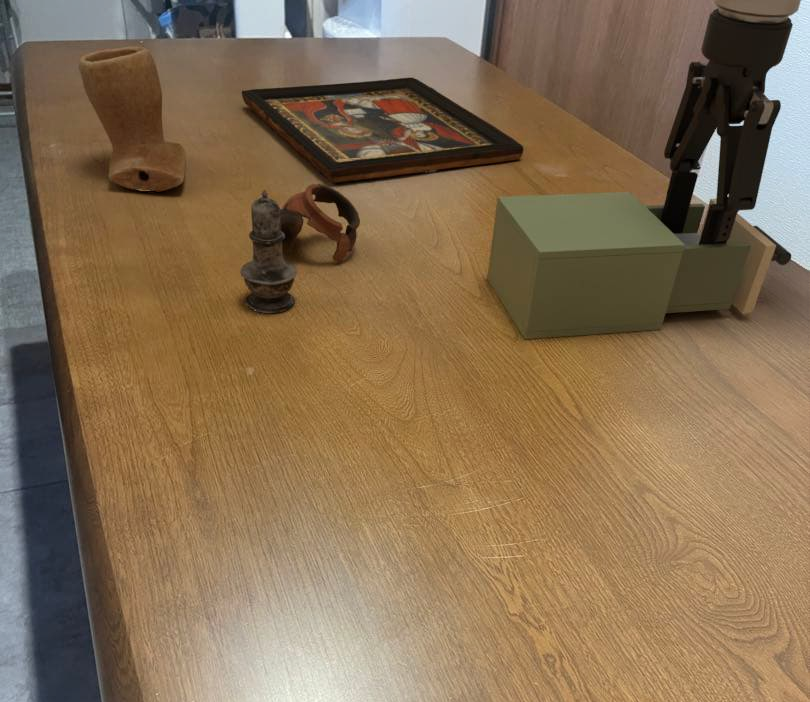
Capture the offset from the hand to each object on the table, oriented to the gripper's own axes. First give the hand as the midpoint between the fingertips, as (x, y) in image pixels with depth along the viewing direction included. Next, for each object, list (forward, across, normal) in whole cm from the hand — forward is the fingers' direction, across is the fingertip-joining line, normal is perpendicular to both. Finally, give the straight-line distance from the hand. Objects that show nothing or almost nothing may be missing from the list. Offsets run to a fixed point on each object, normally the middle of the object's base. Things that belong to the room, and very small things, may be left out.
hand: (687, 248), depth 96 cm
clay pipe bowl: (+5, -42, -58) cm, 72 cm away
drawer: (+5, 0, +1) cm, 5 cm away
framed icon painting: (+6, -56, -23) cm, 61 cm away
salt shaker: (+5, -4, -46) cm, 46 cm away
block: (+4, 0, 0) cm, 4 cm away
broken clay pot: (+6, -16, -40) cm, 43 cm away
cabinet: (+6, 0, -13) cm, 14 cm away
